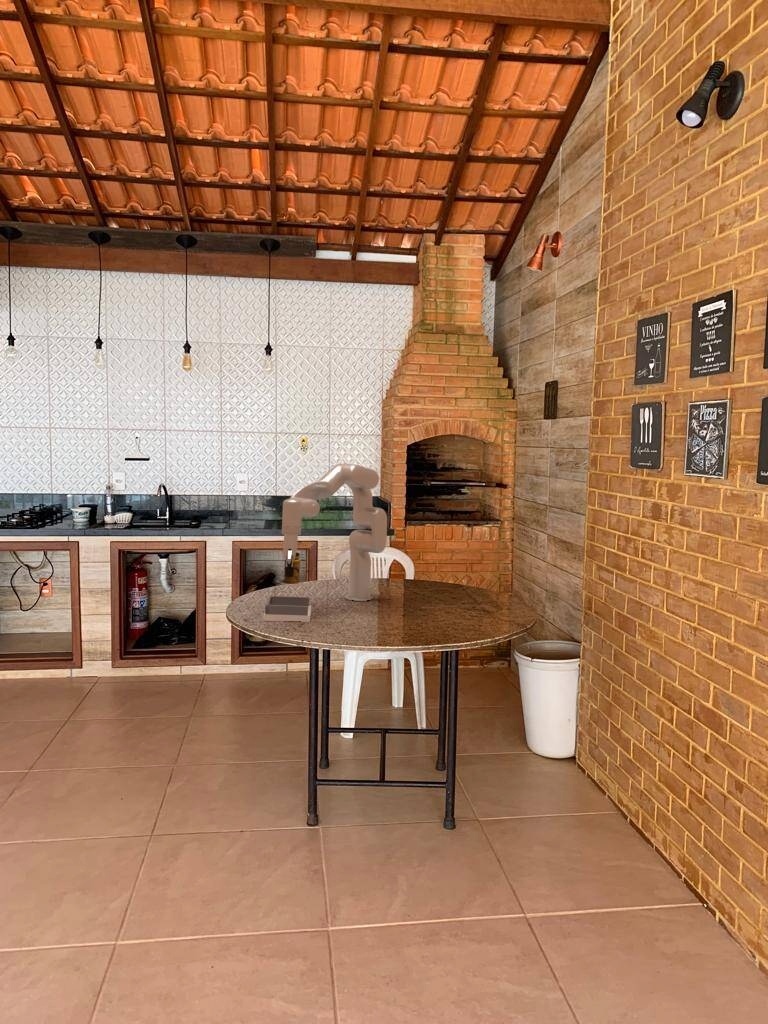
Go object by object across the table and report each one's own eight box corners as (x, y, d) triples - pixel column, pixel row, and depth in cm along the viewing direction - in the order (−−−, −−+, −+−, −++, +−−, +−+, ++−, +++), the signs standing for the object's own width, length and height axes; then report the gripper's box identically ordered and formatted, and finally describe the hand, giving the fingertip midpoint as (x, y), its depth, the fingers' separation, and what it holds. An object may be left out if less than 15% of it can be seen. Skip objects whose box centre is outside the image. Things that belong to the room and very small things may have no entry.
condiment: (302, 583, 277) (304, 553, 276) (283, 584, 272) (284, 554, 271) (294, 580, 283) (296, 551, 282) (275, 581, 278) (276, 551, 277)
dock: (311, 611, 289) (311, 597, 288) (309, 622, 271) (310, 607, 270) (267, 609, 287) (267, 595, 287) (263, 620, 270) (263, 605, 269)
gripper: (283, 527, 284) (281, 570, 286) (280, 532, 267) (278, 578, 269) (301, 528, 285) (299, 571, 286) (300, 533, 268) (298, 579, 269)
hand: (289, 574), depth 278 cm, fingers closed on condiment, 6 cm apart
